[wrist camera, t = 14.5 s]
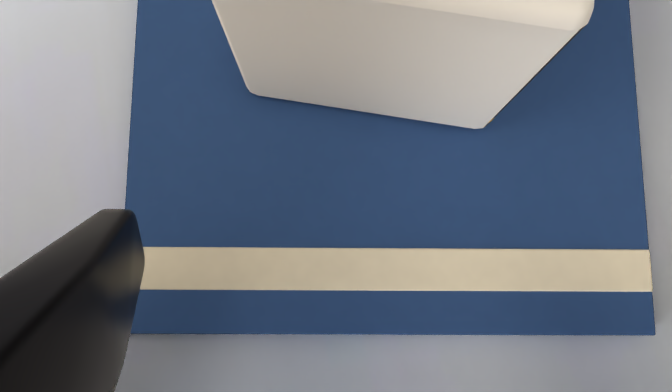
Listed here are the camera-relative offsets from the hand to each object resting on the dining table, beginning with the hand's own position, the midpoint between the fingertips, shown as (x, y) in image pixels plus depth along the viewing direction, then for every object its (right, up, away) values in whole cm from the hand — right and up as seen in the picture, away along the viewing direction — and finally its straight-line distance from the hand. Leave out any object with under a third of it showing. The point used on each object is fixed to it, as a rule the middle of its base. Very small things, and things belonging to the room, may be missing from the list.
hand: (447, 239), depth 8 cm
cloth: (0, +7, +10) cm, 12 cm away
